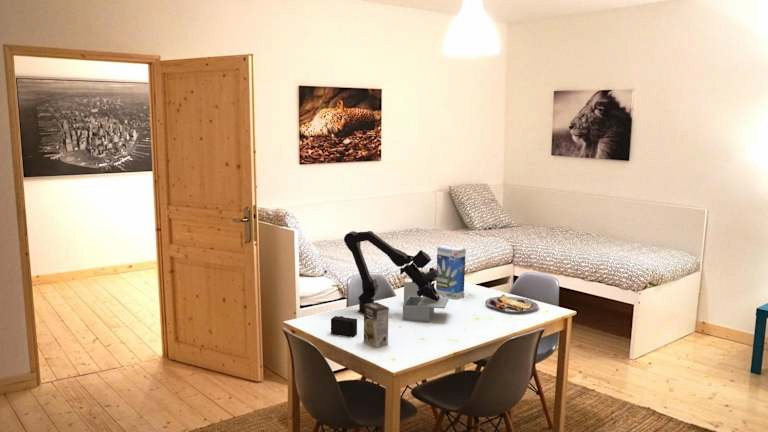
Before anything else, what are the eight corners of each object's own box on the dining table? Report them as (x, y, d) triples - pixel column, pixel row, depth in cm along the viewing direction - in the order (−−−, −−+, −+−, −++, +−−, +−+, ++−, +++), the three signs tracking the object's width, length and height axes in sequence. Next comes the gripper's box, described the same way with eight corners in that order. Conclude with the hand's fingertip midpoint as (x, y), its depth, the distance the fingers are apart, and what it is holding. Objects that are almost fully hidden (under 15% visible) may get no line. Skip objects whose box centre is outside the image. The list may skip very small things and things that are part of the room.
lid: (417, 306, 291) (417, 298, 291) (422, 296, 307) (423, 289, 307) (444, 308, 289) (444, 300, 288) (449, 298, 305) (449, 290, 304)
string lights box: (435, 295, 337) (436, 246, 333) (443, 292, 343) (444, 244, 339) (456, 299, 328) (457, 250, 325) (464, 296, 334) (466, 247, 330)
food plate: (476, 305, 318) (476, 298, 318) (505, 297, 334) (505, 291, 333) (517, 318, 300) (518, 311, 300) (546, 309, 316) (547, 302, 315)
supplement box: (419, 307, 315) (419, 282, 313) (403, 307, 315) (404, 281, 313) (418, 303, 322) (418, 278, 320) (403, 302, 322) (404, 278, 320)
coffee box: (363, 342, 265) (363, 303, 263) (376, 339, 269) (376, 301, 267) (375, 348, 258) (375, 309, 256) (388, 345, 262) (389, 306, 259)
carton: (402, 320, 294) (402, 305, 293) (409, 310, 310) (409, 296, 308) (428, 322, 291) (429, 307, 290) (433, 312, 307) (434, 298, 306)
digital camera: (358, 333, 276) (358, 317, 275) (353, 337, 271) (353, 321, 270) (336, 330, 280) (336, 315, 278) (330, 334, 275) (330, 318, 273)
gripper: (424, 268, 287) (448, 293, 286) (431, 259, 305) (453, 283, 304) (407, 284, 290) (430, 309, 289) (414, 274, 308) (436, 298, 307)
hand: (438, 299), depth 297 cm, fingers closed on lid, 3 cm apart
